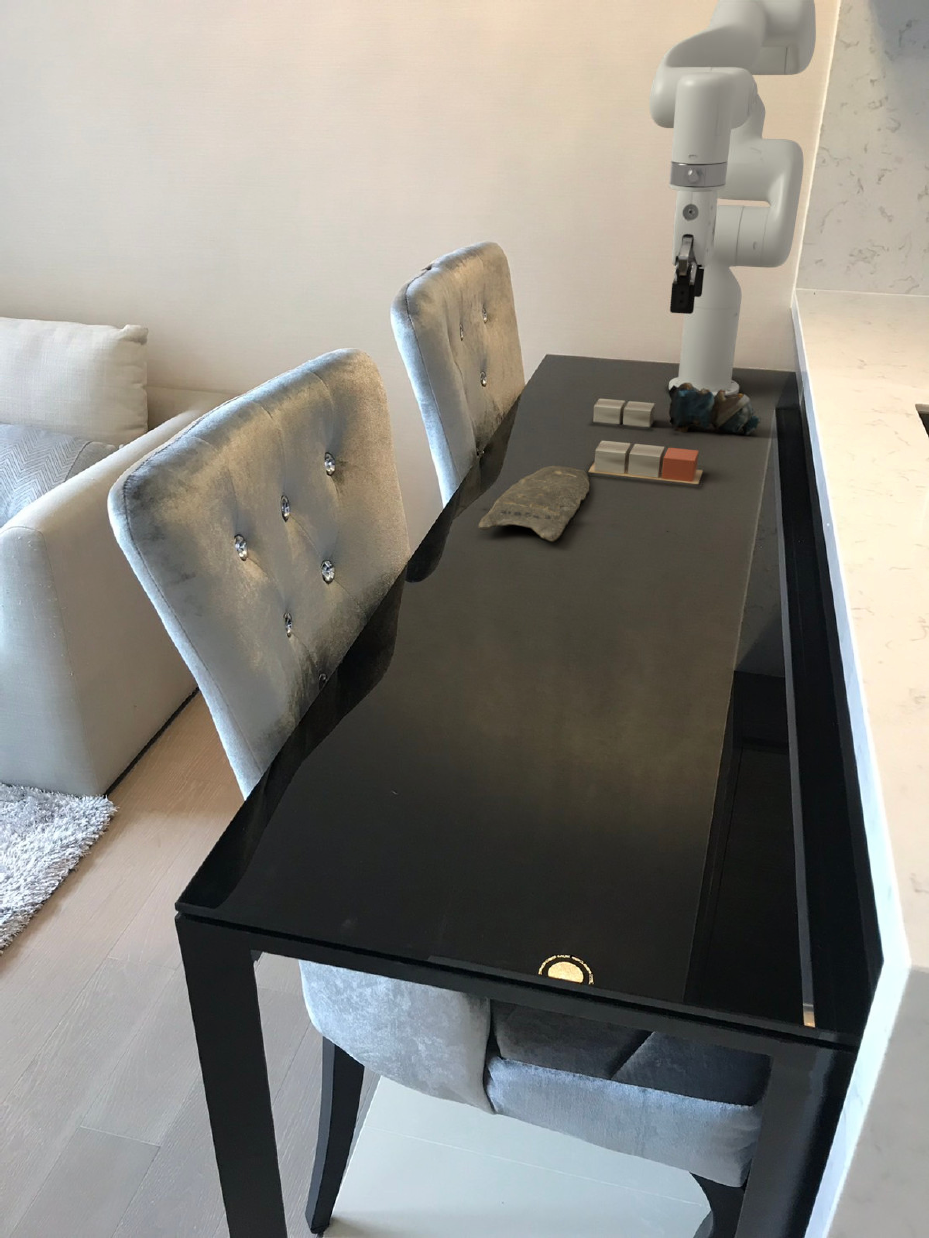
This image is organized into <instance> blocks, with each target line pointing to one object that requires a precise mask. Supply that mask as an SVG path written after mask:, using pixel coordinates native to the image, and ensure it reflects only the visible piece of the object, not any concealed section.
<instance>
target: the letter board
mask: <svg viewBox="0 0 929 1238" xmlns="http://www.w3.org/2000/svg"><path fill="white" fill-rule="evenodd" d="M594 468H595V461H594V462H593V463H592V465H590V468H589V469H588V473H593V474H603V475H612V476H622V477H630V478H639V479H649V480H657V481H666V482H667V481H668V482H674V483H684V484H685V483H686V484H694V485H699V483H700V480H701V478H702V474H703V470H704V469H697V470H696V473H695V476H694V479H693V481H682V480H673V479H664V478H662V471H663V468H662V470H661V472H660V474H659V477H658V478H656V477H647V476H638V475H629V474H628V468H629V465H628V467H627V469H626V471H625V472H624V474H620V473H611V472H602V471H594Z"/></svg>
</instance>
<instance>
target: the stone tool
mask: <svg viewBox="0 0 929 1238" xmlns="http://www.w3.org/2000/svg"><path fill="white" fill-rule="evenodd" d="M589 487H590V482H589V475H588V474H587V472H586V471H585V470H583V469H582V470H581V469H576V468H573V467H566V466H559V465H549V466H546V467H542V468H540V469H538V470H536V471H535V472H533V473H532V474H530V475H525V477H523V478H520V479H519V480H518V482H517V483H514V484H511V486H510V487H509V489H506V490H505V491H504V493H502V494H501V495H500V497H498V498H497V499H496V501H495V502H494V504H493V505H492V507H491V508H490V510H489V511H488V513H486V514H485V515H484V516H483V517H482V518H481V519H480V521H479V523H478V529H480V530H482V531H487V530H490V529H492V528H496V527H505V526H520V527H523V528H529V529H531V530H532V531H534V532H535V533H536V534H537V535H538V536H539V537H540V538H541V539H543V540H545V541H548V542H555V541H556V540H557V539H559V538H560V536H561V535H562V534H563V531H564V530H565V528H566V526H567V525H568V524H569V521H570V520H571V519H572V518H573V517H574V516H575V513H576V512H577V510H578V509H580V504H581V502H582V501H584V500H585V499H586V497H587V494H588V493H589V492H590V488H589Z"/></svg>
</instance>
